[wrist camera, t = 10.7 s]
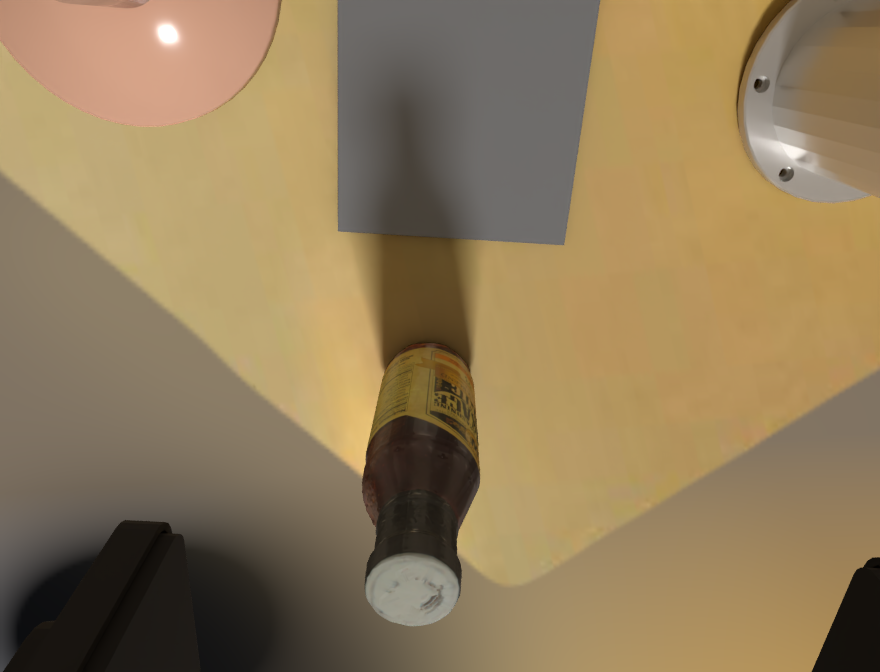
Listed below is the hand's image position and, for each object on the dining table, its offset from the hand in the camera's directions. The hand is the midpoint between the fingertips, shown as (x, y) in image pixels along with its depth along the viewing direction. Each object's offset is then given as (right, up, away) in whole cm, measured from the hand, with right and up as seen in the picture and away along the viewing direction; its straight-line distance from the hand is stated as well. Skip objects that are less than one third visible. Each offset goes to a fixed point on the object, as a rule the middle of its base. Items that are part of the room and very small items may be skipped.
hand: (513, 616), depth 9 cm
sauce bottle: (-2, +1, +36) cm, 36 cm away
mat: (0, +17, +29) cm, 33 cm away
